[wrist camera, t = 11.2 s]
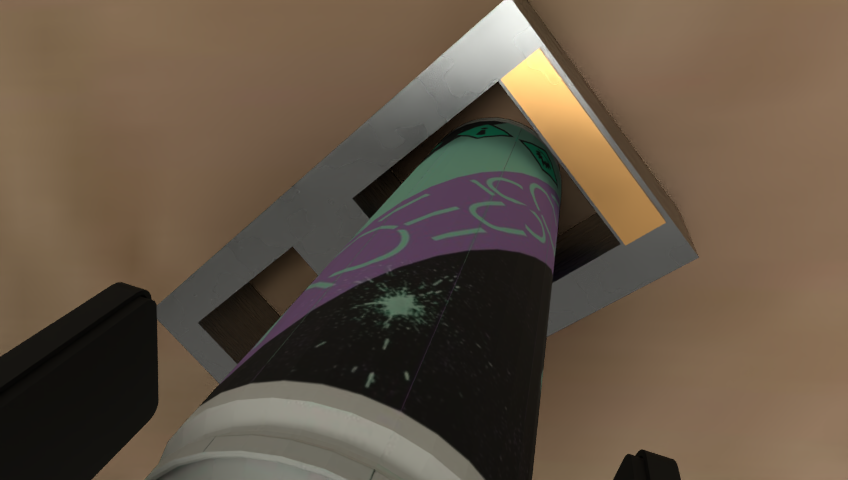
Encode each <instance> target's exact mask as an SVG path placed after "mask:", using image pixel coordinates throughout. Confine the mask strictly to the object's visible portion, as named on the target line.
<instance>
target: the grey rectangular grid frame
mask: <svg viewBox="0 0 848 480" xmlns="http://www.w3.org/2000/svg"><path fill="white" fill-rule="evenodd" d="M496 82H499V83H500V84H501V86H502V87H503V88H504V90H505V91H506V92H507V94H508V95H509V96H510V98H511V99H512V100H513V102H514V103H515V104H516V106H517V107H518V108H519V110H520V111H521V112H522V114H523V115H524V116H525V118H526V119H527V120H528V122H529V123H530V124H531V126H532V127H533V128H534V130H535V131H536V132H537V134H538V135H539V136H540V138H541V139H542V140H543V142H544V143H545V144H546V146H547V147H548V148H549V150H550V151H551V152H552V153H553V155H554V156H555V157H556V159H557V160H558V161H559V163H560V164H561V165H562V167H563V168H564V169H565V171H566V172H567V173H568V175H569V176H570V177H571V179H572V180H573V181H574V183H575V184H576V185H577V187H578V188H579V189H580V191H581V192H582V193H583V195H584V196H585V197H586V199H587V200H588V201H589V203H590V204H591V205H592V207H593V208H594V209H595V211H596V212H597V213H596V214H595V215H593V216H591V217H590V218H588V219H586V220H585V221H583V222H581V223H580V224H578V225H577V226H575V227H573V228H572V229H570V230H568V231H567V232H565V233H564V234H562V235H560V236H559V237H557V241H556V251H555V261H554V270H553V280H552V290H551V299H550V309H549V319H548V329H547V337H548V336H550V335H551V334H553V333H555V332H557V331H559V330H561V329H563V328H565V327H567V326H569V325H571V324H573V323H574V322H576V321H578V320H580V319H582V318H584V317H586V316H588V315H590V314H592V313H594V312H596V311H597V310H599V309H601V308H603V307H605V306H607V305H609V304H611V303H613V302H615V301H617V300H618V299H620V298H622V297H624V296H626V295H628V294H630V293H632V292H634V291H636V290H638V289H640V288H641V287H643V286H645V285H647V284H649V283H651V282H653V281H655V280H657V279H659V278H661V277H663V276H664V275H666V274H668V273H670V272H672V271H674V270H676V269H678V268H680V267H682V266H684V265H686V264H687V263H689V262H691V261H693V260H695V259H697V258H699V256H698V254H697V252H696V249H695V247H694V244H693V242H692V240H691V237H690V235H689V232H688V230H687V228H686V225H685V223H684V221H683V218H682V216H681V213H680V212H679V210H678V209H677V207H676V206H675V205H674V203H673V202H672V200H671V199H670V198H669V196H668V195H667V194H666V192H665V191H664V189H663V188H662V187H661V185H660V184H659V182H658V181H657V180H656V178H655V177H654V176H653V174H652V173H651V171H650V170H649V169H648V167H647V166H646V164H645V163H644V162H643V160H642V159H641V157H640V156H639V155H638V153H637V152H636V151H635V149H634V148H633V146H632V145H631V144H630V142H629V141H628V139H627V138H626V137H625V135H624V134H623V133H622V131H621V130H620V128H619V127H618V126H617V124H616V123H615V121H614V120H613V119H612V117H611V116H610V114H609V113H608V112H607V110H606V109H605V108H604V106H603V105H602V103H601V102H600V101H599V99H598V98H597V96H596V95H595V94H594V92H593V91H592V90H591V88H590V87H589V85H588V84H587V83H586V81H585V80H584V78H583V77H582V76H581V74H580V73H579V71H578V70H577V69H576V67H575V66H574V65H573V63H572V62H571V60H570V59H569V58H568V56H567V55H566V53H565V52H564V51H563V49H562V48H561V47H560V45H559V44H558V42H557V41H556V40H555V38H554V37H553V35H552V34H551V33H550V31H549V30H548V29H547V27H546V26H545V24H544V23H543V22H542V20H541V19H540V17H539V16H538V15H537V13H536V12H535V10H534V9H533V8H532V6H531V5H530V4H529V2H528V1H527V0H504V1H503V2H502V3H500V4H499V5H498V6H497V7H496V8H495V9H494V10H492V11H491V12H490V13H489V14H488V15H487V16H486V17H484V18H483V19H482V20H481V21H480V22H479V23H478V24H477V25H475V26H474V27H473V28H472V29H471V30H470V31H469V32H467V33H466V34H465V35H464V36H463V37H462V38H461V39H459V40H458V41H457V42H456V43H455V44H454V45H453V46H452V47H450V48H449V49H448V50H447V51H446V52H445V53H444V54H442V55H441V56H440V57H439V58H438V59H437V60H436V61H434V62H433V63H432V64H431V65H430V66H429V67H428V68H427V69H425V70H424V71H423V72H422V73H421V74H420V75H419V76H417V77H416V78H415V79H414V80H413V81H412V82H411V83H409V84H408V85H407V86H406V87H405V88H404V89H403V90H401V91H400V92H399V93H398V94H397V95H396V96H395V97H394V98H392V99H391V100H390V101H389V102H388V103H387V104H386V105H384V106H383V107H382V108H381V109H380V110H379V111H378V112H376V113H375V114H374V115H373V116H372V117H371V118H370V119H369V120H367V121H366V122H365V123H364V124H363V125H362V126H361V127H359V128H358V129H357V130H356V131H355V132H354V133H353V134H351V135H350V136H349V137H348V138H347V139H346V140H345V141H344V142H342V143H341V144H340V145H339V146H338V147H337V148H336V149H334V150H333V151H332V152H331V153H330V154H329V155H328V156H326V157H325V158H324V159H323V160H322V161H321V162H320V163H319V164H317V165H316V166H315V167H314V168H313V169H312V170H311V171H309V172H308V173H307V174H306V175H305V176H304V177H303V178H301V179H300V180H299V181H298V182H297V183H296V184H295V185H293V186H292V187H291V188H290V189H289V190H288V191H287V192H286V193H284V194H283V195H282V196H281V197H280V198H279V199H278V200H276V201H275V202H274V203H273V204H272V205H271V206H270V207H268V208H267V209H266V210H265V211H264V212H263V213H262V214H261V215H259V216H258V217H257V218H256V219H255V220H254V221H253V222H251V223H250V224H249V225H248V226H247V227H246V228H245V229H243V230H242V231H241V232H240V233H239V234H238V235H237V236H236V237H234V238H233V239H232V240H231V241H230V242H229V243H228V244H226V245H225V246H224V247H223V248H222V249H221V250H220V251H218V252H217V253H216V254H215V255H214V256H213V257H212V258H211V259H209V260H208V261H207V262H206V263H205V264H204V265H203V266H201V267H200V268H199V269H198V270H197V271H196V272H195V273H193V274H192V275H191V276H190V277H189V278H188V279H187V280H185V281H184V282H183V283H182V284H181V285H180V286H179V287H178V288H176V289H175V290H174V291H173V292H172V293H171V294H170V295H168V296H167V297H166V298H165V299H164V300H163V301H162V302H160V303H159V304H158V305H157V319H158V320H159V321H160V323H161V324H162V325H163V326H164V327H165V328H166V329H167V330H168V331H169V332H170V333H171V334H172V335H173V336H174V337H175V338H176V339H177V340H178V341H179V342H180V343H181V344H182V345H183V346H184V347H185V348H186V349H187V351H188V352H189V353H190V354H191V355H192V356H193V357H194V358H195V359H196V360H197V361H198V362H199V363H200V364H201V365H202V366H203V367H204V368H205V369H206V370H207V371H208V372H209V373H210V374H211V375H212V376H213V377H214V378H215V380H216V381H217V382H218V383H219V384H220V383H221V382H222V381H223V380H224V379H225V378H226V377H227V375H228V374H229V373H230V372H231V371H232V370H233V369H234V368H235V367H236V366H237V364H238V363H239V362H240V361H241V360H242V359H243V358H244V357H245V356H246V355H247V353H248V352H249V351H250V350H251V349H252V348H253V347H254V346H255V345H256V344H257V343H258V341H259V340H260V339H261V338H262V337H263V336H264V335H265V334H266V333H267V332H268V330H269V329H270V328H271V327H272V326H273V325H274V324H275V323H276V322H277V321H278V319H279V318H280V317H279V316H278V314H277V313H276V312H275V311H274V310H273V309H272V308H271V307H270V306H269V305H268V304H267V302H266V301H265V300H264V299H263V298H262V297H261V296H260V295H259V294H258V293H257V291H256V290H255V289H254V288H253V287H252V286H251V285H250V284H249V283H248V282H249V281H250V280H251V279H253V278H254V277H255V276H256V275H258V274H259V273H260V272H261V271H262V270H264V269H265V268H266V267H267V266H269V265H270V264H271V263H272V262H274V261H275V260H276V259H277V258H279V257H280V256H281V255H282V254H284V253H285V252H286V251H287V250H289V249H290V248H291V247H292V246H293V248H294V249H295V250H296V251H297V252H298V253H299V254H300V255H301V257H302V258H303V259H304V260H305V261H306V262H307V263H308V265H309V266H310V267H311V268H312V269H313V270H314V271H315V272H316V274H317V275H318V276H319V274H320V273H321V272H322V271H323V270H324V269H325V268H326V267H327V266H328V265H329V263H330V262H331V261H332V260H333V259H334V258H335V257H336V256H337V255H338V254H339V252H340V251H341V250H342V249H343V248H344V247H345V246H346V245H347V244H348V243H349V241H350V240H351V239H352V238H353V237H354V236H355V235H356V234H357V233H358V232H359V230H360V229H361V228H362V227H363V226H364V225H365V224H366V223H367V222H368V221H369V220H370V218H371V217H372V216H373V215H374V214H375V213H376V212H377V211H378V210H379V209H380V207H381V206H382V205H383V204H384V203H385V202H386V201H387V200H388V199H389V198H390V196H391V195H392V194H393V193H394V192H395V191H396V190H397V189H398V188H399V187H400V185H401V183H400V182H399V181H398V180H397V178H396V177H395V176H394V175H393V173H392V172H391V171H390V170H389V168H391V167H392V166H393V165H394V164H396V163H397V162H398V161H399V160H401V159H402V158H403V157H404V156H406V155H407V154H408V153H409V152H411V151H412V150H413V149H414V148H415V147H417V146H418V145H419V144H420V143H422V142H423V141H424V140H425V139H427V138H428V137H429V136H430V135H432V134H433V133H434V132H435V131H437V130H438V129H439V128H440V127H442V126H443V125H444V124H445V123H447V122H448V121H449V120H450V119H452V118H453V117H454V116H455V115H457V114H458V113H459V112H460V111H462V110H463V109H464V108H465V107H466V106H468V105H469V104H470V103H471V102H473V101H474V100H475V99H476V98H478V97H479V96H480V95H481V94H483V93H484V92H485V91H486V90H488V89H489V88H490V87H491V86H493V85H494V84H495V83H496Z"/></svg>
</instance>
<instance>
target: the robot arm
mask: <svg viewBox="0 0 848 480" xmlns="http://www.w3.org/2000/svg"><path fill="white" fill-rule="evenodd" d="M157 406H158V351H157V306H156V303H155V301H153V300H152V299H151V295H150V293H149V292H148V291H147V290H144V289H141V288H138V287H135V286H132V285H128V284H125V283H122V282H119V283H115V284H113V285H111V286H110V287H108V288H107V289H105V290H104V291H102V292H101V293H99V294H97V295H96V296H94V297H93V298H91V299H90V300H88V301H86V302H85V303H83V304H82V305H80V306H79V307H77V308H76V309H74V310H72V311H71V312H69V313H68V314H66V315H65V316H63V317H62V318H60V319H58V320H57V321H55V322H54V323H52V324H51V325H49V326H48V327H46V328H44V329H43V330H41V331H40V332H38V333H37V334H35V335H34V336H32V337H30V338H29V339H27V340H26V341H24V342H23V343H21V344H20V345H18V346H16V347H15V348H13V349H12V350H10V351H9V352H7V353H5V354H4V355H2V356H1V357H0V480H91V479H92V478H93V477H94V476H95V475H96V474H97V473H98V472H99V471H100V470H101V469H102V468H103V467H104V466H105V465H106V464H107V463H108V462H109V461H110V460H111V459H112V458H113V457H114V456H115V455H116V454H117V453H118V452H119V451H120V450H121V449H122V448H123V447H124V446H125V445H126V444H127V443H128V442H129V441H130V440H131V439H132V438H133V436H134V435H135V434H136V433H137V432H138V431H139V430H140V429H141V428H142V427H143V426H144V425H145V424H146V423H147V422H148V421H149V420H150V419H151V418H152V416H153V415H154V413H155V411H156V409H157ZM613 480H681V478H680V474H679V470H678V466H677V463H676V461H675V460H674V459H670V458H667V457H664V456H661V455H658V454H655V453H652V452H649V451H646V450H640V451H638V453H637V454H636V456H634V455H631V454H627V455H626V456H625V458H624V459H623V461H622V463H621V465H620V467H619V469H618V471H617V473H616V475H615V477H614V479H613Z"/></svg>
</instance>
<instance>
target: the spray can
mask: <svg viewBox="0 0 848 480" xmlns="http://www.w3.org/2000/svg"><path fill="white" fill-rule="evenodd" d="M560 203H561V174H560V169H559V164H558V162H557V160H556V158H555V156H554V155H553V153H552V152H551V151H550V150H549V148H548V147H547V146H546V144H545V143H544V142H543V140H542V139H541V138H540V136H539V135H538V134H537V133H536V132H535V131H533V130H531V129H530V128H528V127H527V126H525V125H523V124H521V123H518V122H515V121H512V120H509V119H503V118H481V119H477V120H473V121H470V122H467V123H465V124H463V125H461V126H459V127H457V128H456V129H455V130H453V131H452V132H451V133H449V134H448V135H447V136H445V137H444V138H443V139H442V140H441V142H440V143H439V144H438V145H437V146H436V147H435V148H434V149H433V150H432V151H431V153H430V154H429V155H428V156H427V157H426V158H425V159H424V160H423V161H422V162H421V164H420V165H419V166H418V167H417V168H416V169H415V170H414V171H413V172H412V173H411V174H410V176H409V177H408V178H407V179H406V180H405V181H404V182H403V183H402V184H401V185H400V187H399V188H398V189H397V190H396V191H395V192H394V193H393V194H392V195H391V196H390V198H389V199H388V200H387V201H386V202H385V203H384V204H383V205H382V206H381V207H380V209H379V210H378V211H377V212H376V213H375V214H374V215H373V216H372V217H371V218H370V220H369V221H368V222H367V223H366V224H365V225H364V226H363V227H362V228H361V229H360V230H359V232H358V233H357V234H356V235H355V236H354V237H353V238H352V239H351V240H350V241H349V243H348V244H347V245H346V246H345V247H344V248H343V249H342V250H341V251H340V252H339V254H338V255H337V256H336V257H335V258H334V259H333V260H332V261H331V262H330V263H329V265H328V266H327V267H326V268H325V269H324V270H323V271H322V272H321V273H320V274H319V276H318V277H317V278H316V279H315V280H314V281H313V282H312V283H311V284H310V285H309V287H308V288H307V289H306V290H305V291H304V292H303V293H302V294H301V295H300V296H299V297H298V299H297V300H296V301H295V302H294V303H293V304H292V305H291V306H290V307H289V308H288V310H287V311H286V312H285V313H284V314H283V315H282V316H281V317H280V318H279V319H278V321H277V322H276V323H275V324H274V325H273V326H272V327H271V328H270V329H269V330H268V332H267V333H266V334H265V335H264V336H263V337H262V338H261V339H260V340H259V341H258V343H257V344H256V345H255V346H254V347H253V348H252V349H251V350H250V351H249V352H248V353H247V355H246V356H245V357H244V358H243V359H242V360H241V361H240V362H239V363H238V364H237V366H236V367H235V368H234V369H233V370H232V371H231V372H230V373H229V374H228V375H227V377H226V378H225V379H224V380H223V381H222V382H221V383H220V384H219V385H218V386H217V388H216V389H215V390H214V391H213V392H212V393H211V394H210V395H209V396H208V397H207V399H206V400H205V401H204V402H203V403H202V404H201V405H200V406H199V407H198V408H197V409H196V411H195V412H194V413H193V414H192V415H191V416H190V417H189V418H188V419H187V420H186V422H185V423H184V424H183V425H182V426H181V427H180V428H179V430H178V431H177V432H176V433H175V434H174V435H173V437H172V438H171V439H170V440H169V441H168V443H167V445H166V448H165V450H164V452H163V455H162V457H161V459H160V462H159V464H158V465H157V466H156V467H155V468H154V469H153V471H152V472H151V473H150V474H149V475H148V476H147V477H146V478H145V480H532V474H533V464H534V454H535V445H536V435H537V425H538V416H539V406H540V396H541V387H542V377H543V367H544V358H545V348H546V338H547V329H548V319H549V309H550V299H551V290H552V280H553V270H554V261H555V251H556V241H557V232H558V222H559V212H560Z"/></svg>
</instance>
